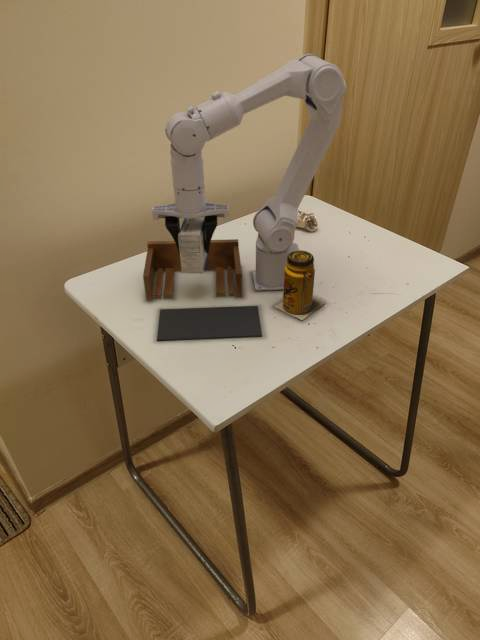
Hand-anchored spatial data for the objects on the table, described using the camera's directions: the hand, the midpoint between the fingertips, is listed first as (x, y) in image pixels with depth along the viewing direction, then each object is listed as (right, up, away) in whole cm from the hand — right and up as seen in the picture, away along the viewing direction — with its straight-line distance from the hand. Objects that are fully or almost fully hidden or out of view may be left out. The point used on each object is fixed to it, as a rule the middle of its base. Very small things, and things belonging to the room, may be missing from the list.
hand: (194, 250), depth 101 cm
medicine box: (0, -2, +2) cm, 3 cm away
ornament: (+25, +14, +32) cm, 43 cm away
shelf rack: (-1, -5, +9) cm, 10 cm away
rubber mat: (+3, -15, -2) cm, 15 cm away
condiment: (+22, -11, +4) cm, 25 cm away
